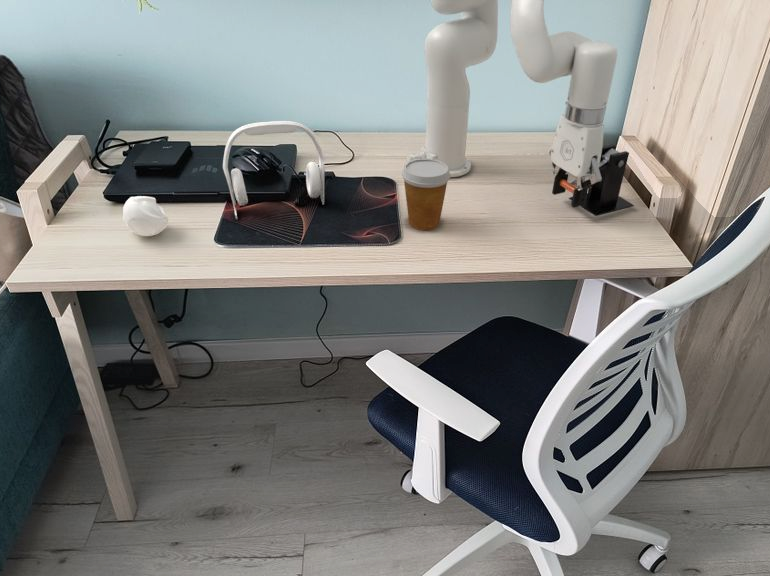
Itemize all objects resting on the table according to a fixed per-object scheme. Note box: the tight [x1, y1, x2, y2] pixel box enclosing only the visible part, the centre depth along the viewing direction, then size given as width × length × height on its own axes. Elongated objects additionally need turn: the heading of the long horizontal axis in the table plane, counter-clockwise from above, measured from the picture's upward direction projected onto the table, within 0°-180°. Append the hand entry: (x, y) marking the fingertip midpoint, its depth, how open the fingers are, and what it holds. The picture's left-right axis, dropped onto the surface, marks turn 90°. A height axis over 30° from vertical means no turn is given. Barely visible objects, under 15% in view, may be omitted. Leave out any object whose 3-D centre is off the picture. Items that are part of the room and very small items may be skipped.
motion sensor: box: [122, 195, 169, 237], centre depth 121 cm, size 8×8×8 cm
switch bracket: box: [568, 143, 635, 217], centre depth 137 cm, size 11×9×13 cm
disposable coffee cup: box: [401, 159, 451, 231], centre depth 128 cm, size 10×10×12 cm
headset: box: [222, 120, 325, 220], centre depth 128 cm, size 20×7×18 cm, turn 109°
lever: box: [559, 148, 620, 194], centre depth 133 cm, size 13×6×2 cm, turn 120°
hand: (568, 198), depth 134 cm, fingers closed on lever, 5 cm apart
